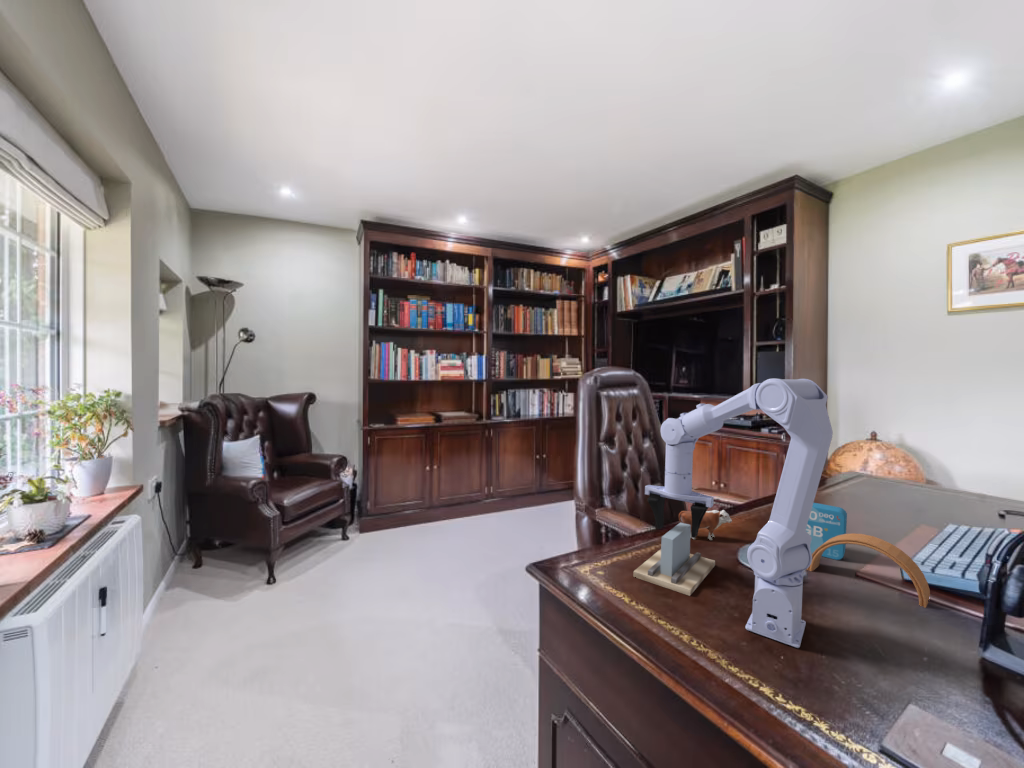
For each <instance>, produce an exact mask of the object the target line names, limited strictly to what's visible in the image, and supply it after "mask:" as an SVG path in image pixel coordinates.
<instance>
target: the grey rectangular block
mask: <svg viewBox="0 0 1024 768" xmlns="http://www.w3.org/2000/svg"><path fill="white" fill-rule="evenodd" d="M690 533H691V525H689V524H685V523H681V522H680V521H679V523H678V524H676V525H675V526H673V527H672V528H671V529H670V530H669V531H667V532H666V533H665V534H663V535H661V539H660V540H661V544H660V545H661V546H660V547H661V548H660V549H661V569H660V573H661V574H664V575H667V576H670V577H672V576H673V575H674V574H675V573H676V572H677V571H678V570H679V569H680V568H681V567H682V566H683V565H684V564H685V563H686V562H687V561H688V560H689V559H690V554H691V538H690Z"/></svg>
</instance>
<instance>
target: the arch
mask: <svg viewBox="0 0 1024 768" xmlns="http://www.w3.org/2000/svg"><path fill="white" fill-rule="evenodd" d="M839 544H846V545H858V546H862V547H867V548H868V549H872V550H874V551H877V552H878V553H881V554H882V555H884V556H885V557H887V558H889V559H891V560H892V561H893V562H895V564H897V565H898V566H899V567H900V568H901V569H902V570H903V571H904V573H905V574H907V576H908V578H909V579H910V580H911V581H912V583H913V585H914V588H915V590H916V593H917V597H918V606H919V605H920V607H922V606H923V608H927V607H928V604H929V602H928V600H929V596H930V597H931V590H930V587H929V582H928V580H927V578H926V576H925V574H924V573H923V570H921V569H920V567H919V565H918V564H917V563H916V562H915V561H914V560H913V559H912V558H911V556H910V555H908V554H907V553H906V552H904V551H903V550H902V549H900V547H898V546H896V545H895V544H892V543H890V542H888V541H886V540H884V539H882V538H878V537H876V536H874V535H868V534H864V533H846V534H843V535H838V536H835V537H833V538H831V539H829V540H828V541H826V542H825V543H824V544H822V545H821V546H820V547H818V548H817V549H816V550H815V551H814V552H813V554H812V562H811V565H810V566H809V567H808V568H807V569H806V571H810V572H813V571H815V570H816V569H817V568H819V566H820V561H821V559H822V557H823V556H822V554H823V552H824V551H825V550H826V549H827V548H829V547H831V546H834V545H839ZM929 601H930V600H929Z"/></svg>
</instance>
